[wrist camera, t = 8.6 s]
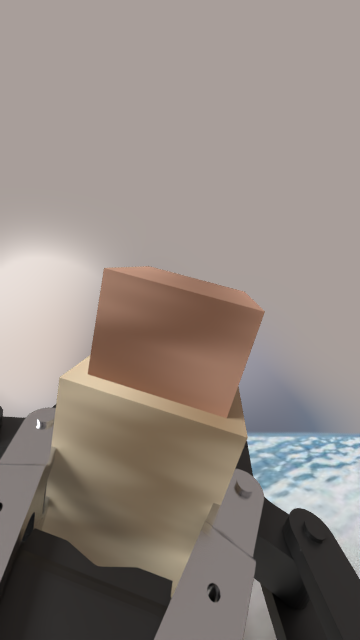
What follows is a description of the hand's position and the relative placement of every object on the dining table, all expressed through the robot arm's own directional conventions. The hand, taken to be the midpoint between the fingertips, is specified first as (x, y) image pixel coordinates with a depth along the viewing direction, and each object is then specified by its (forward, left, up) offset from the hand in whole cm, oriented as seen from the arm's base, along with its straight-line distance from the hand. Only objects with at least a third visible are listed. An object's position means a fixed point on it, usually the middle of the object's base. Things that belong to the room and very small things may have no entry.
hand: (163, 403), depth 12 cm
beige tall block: (0, -3, -6) cm, 7 cm away
